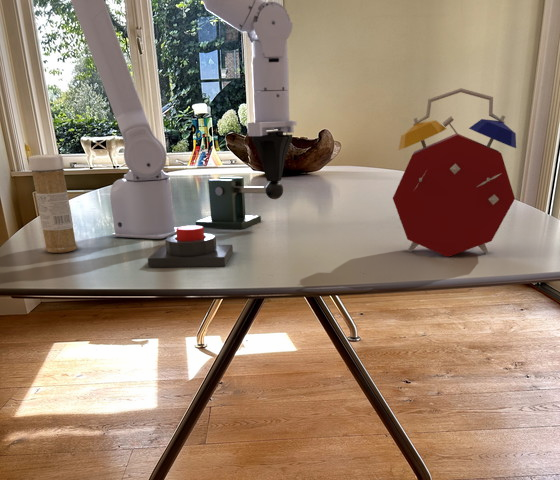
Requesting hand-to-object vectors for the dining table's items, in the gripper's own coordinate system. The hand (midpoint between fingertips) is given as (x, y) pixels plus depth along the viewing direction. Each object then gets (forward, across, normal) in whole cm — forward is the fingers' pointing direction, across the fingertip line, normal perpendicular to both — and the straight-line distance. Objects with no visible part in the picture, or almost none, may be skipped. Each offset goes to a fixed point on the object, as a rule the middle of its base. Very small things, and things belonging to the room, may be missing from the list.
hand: (273, 181), depth 100 cm
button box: (+8, -27, +1) cm, 28 cm away
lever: (+3, 0, +4) cm, 5 cm away
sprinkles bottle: (+8, -27, +24) cm, 36 cm away
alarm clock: (+8, -15, -31) cm, 35 cm away
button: (+5, -27, +1) cm, 27 cm away
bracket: (+8, 0, +9) cm, 12 cm away
